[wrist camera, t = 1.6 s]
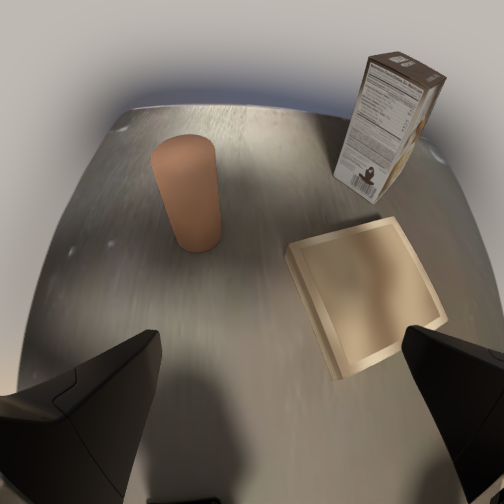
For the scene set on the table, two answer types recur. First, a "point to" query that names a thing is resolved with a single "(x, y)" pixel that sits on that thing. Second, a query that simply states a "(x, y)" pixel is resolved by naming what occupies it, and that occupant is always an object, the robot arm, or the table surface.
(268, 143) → the table surface
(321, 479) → the table surface
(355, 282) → the square tray
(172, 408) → the table surface
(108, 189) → the table surface
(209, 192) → the peach rounded peg
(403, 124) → the coffee box
